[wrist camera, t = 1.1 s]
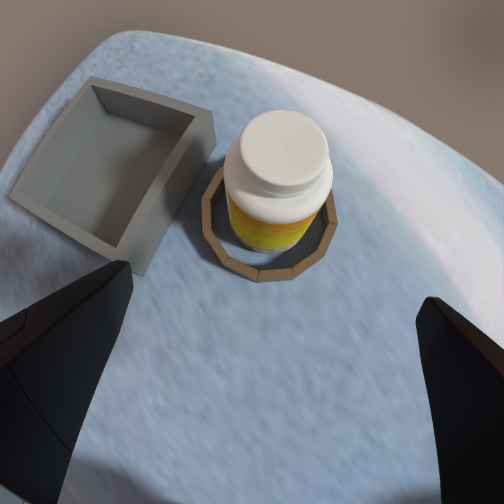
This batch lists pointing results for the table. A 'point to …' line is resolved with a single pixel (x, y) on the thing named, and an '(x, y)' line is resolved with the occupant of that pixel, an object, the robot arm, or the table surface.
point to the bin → (117, 168)
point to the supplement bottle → (276, 180)
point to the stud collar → (250, 272)
